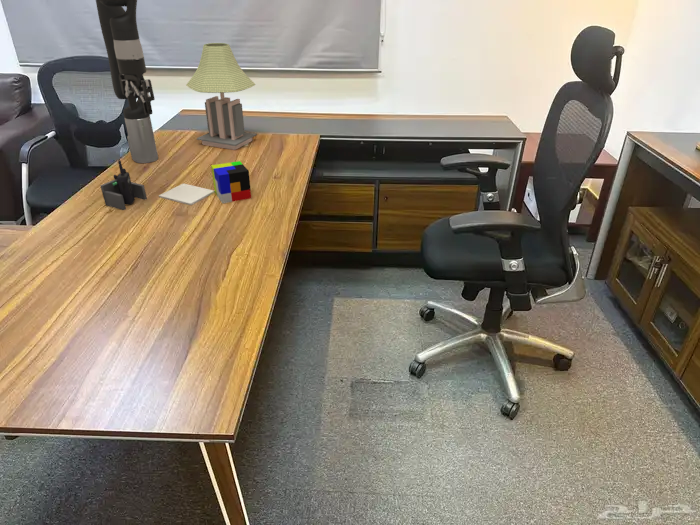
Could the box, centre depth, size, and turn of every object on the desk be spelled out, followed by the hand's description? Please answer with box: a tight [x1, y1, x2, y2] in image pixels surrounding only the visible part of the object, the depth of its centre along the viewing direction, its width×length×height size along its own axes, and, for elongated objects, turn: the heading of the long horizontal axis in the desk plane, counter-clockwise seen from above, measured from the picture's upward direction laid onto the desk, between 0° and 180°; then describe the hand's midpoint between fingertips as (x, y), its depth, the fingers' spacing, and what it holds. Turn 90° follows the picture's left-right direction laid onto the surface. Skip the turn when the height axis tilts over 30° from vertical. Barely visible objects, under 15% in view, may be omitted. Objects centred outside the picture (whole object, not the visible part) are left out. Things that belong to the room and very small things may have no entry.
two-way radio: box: [113, 159, 136, 206], centre depth 159 cm, size 6×4×15 cm
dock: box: [99, 179, 148, 211], centre depth 161 cm, size 8×10×7 cm
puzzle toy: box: [210, 160, 252, 204], centre depth 166 cm, size 10×10×10 cm
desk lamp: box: [185, 42, 258, 151], centre depth 206 cm, size 26×28×40 cm
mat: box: [158, 183, 215, 206], centre depth 168 cm, size 14×12×1 cm
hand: (141, 111), depth 152 cm, fingers open, 8 cm apart
